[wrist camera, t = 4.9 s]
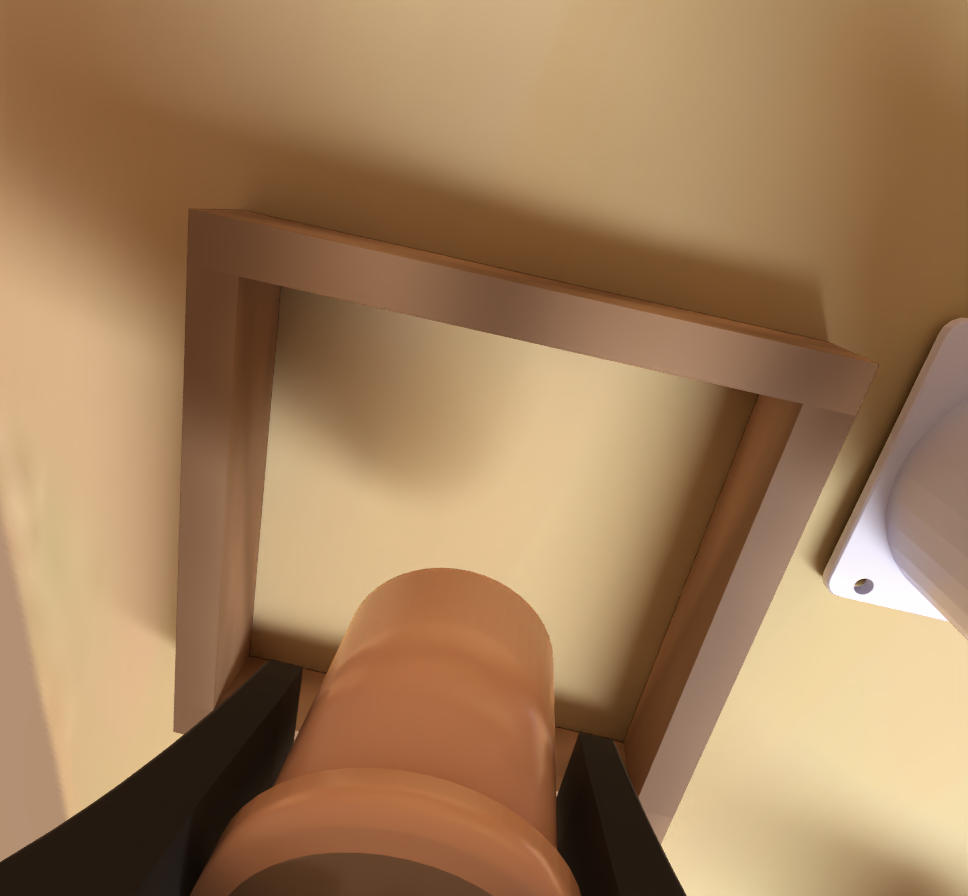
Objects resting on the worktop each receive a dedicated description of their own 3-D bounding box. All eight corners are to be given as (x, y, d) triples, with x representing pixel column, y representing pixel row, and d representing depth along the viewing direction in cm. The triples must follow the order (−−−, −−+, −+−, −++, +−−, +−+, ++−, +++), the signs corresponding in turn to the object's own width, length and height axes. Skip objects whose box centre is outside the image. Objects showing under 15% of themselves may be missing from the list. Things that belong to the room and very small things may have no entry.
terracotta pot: (598, 585, 12) (644, 894, 7) (537, 771, 14) (533, 1133, 9) (347, 527, 12) (185, 786, 7) (319, 720, 14) (174, 1047, 9)
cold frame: (829, 342, 16) (879, 364, 13) (647, 776, 21) (660, 845, 19) (241, 209, 16) (188, 208, 14) (213, 675, 21) (173, 732, 19)
